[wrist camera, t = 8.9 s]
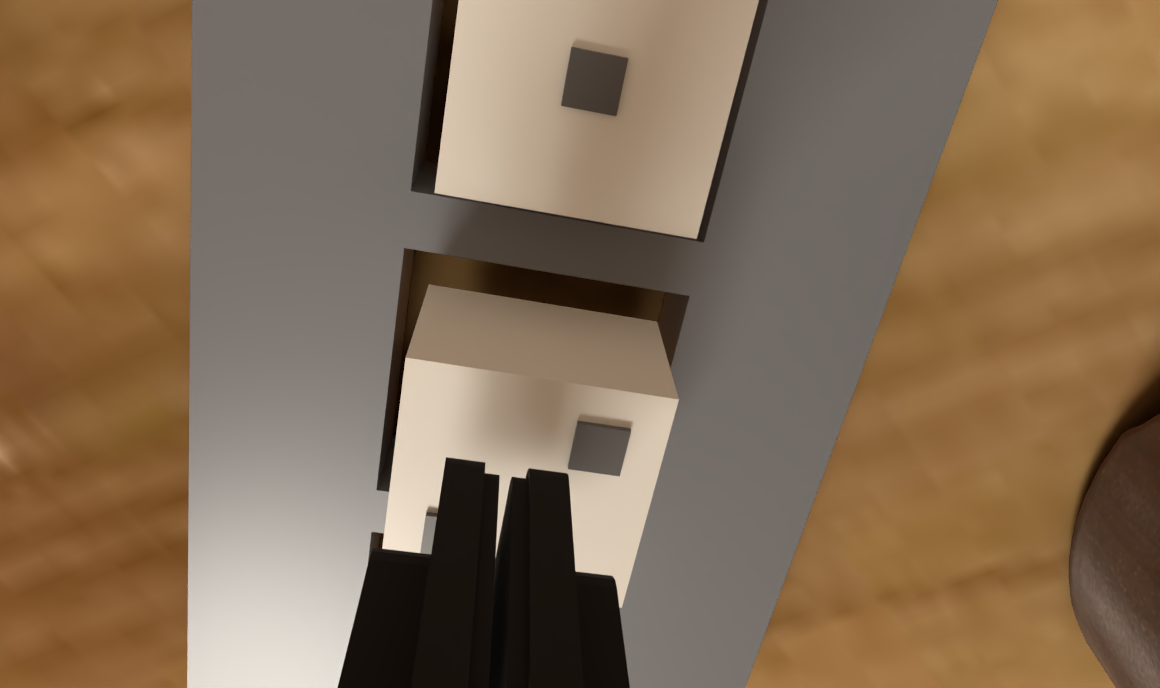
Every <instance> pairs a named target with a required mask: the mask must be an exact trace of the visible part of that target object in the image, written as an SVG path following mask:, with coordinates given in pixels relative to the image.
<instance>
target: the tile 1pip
mask: <svg viewBox="0 0 1160 688" xmlns="http://www.w3.org/2000/svg"><path fill="white" fill-rule="evenodd" d="M758 2H759V0H459V2H458V10H457V18H456V26H455V34H454V42H453V50H452V57H451V65H450V73H449V81H448V89H447V97H446V105H445V113H444V121H443V129H442V137H441V144H440V152H439V160H438V168H437V176H436V184H435V192H434V193H437V194H443V195H449V196H454V197H460V198H466V199H471V200H477V201H483V202H489V203H494V204H500V205H506V206H511V207H517V208H523V209H528V210H534V211H540V212H546V213H551V214H557V215H563V216H568V217H574V218H580V219H585V220H591V221H597V222H603V223H608V224H614V225H620V226H625V227H631V228H637V229H642V230H648V231H654V232H660V233H665V234H671V235H677V236H682V237H688V238H694V239H697V236H698V232H699V228H700V224H701V221H702V217H703V213H704V209H705V205H706V201H707V198H708V194H709V190H710V186H711V182H712V178H713V175H714V171H715V167H716V163H717V159H718V155H719V152H720V148H721V144H722V140H723V136H724V132H725V129H726V125H727V121H728V117H729V113H730V109H731V106H732V102H733V98H734V94H735V90H736V86H737V83H738V79H739V75H740V71H741V67H742V63H743V60H744V56H745V52H746V48H747V44H748V40H749V37H750V33H751V29H752V25H753V21H754V17H755V14H756V10H757V6H758Z"/></svg>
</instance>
